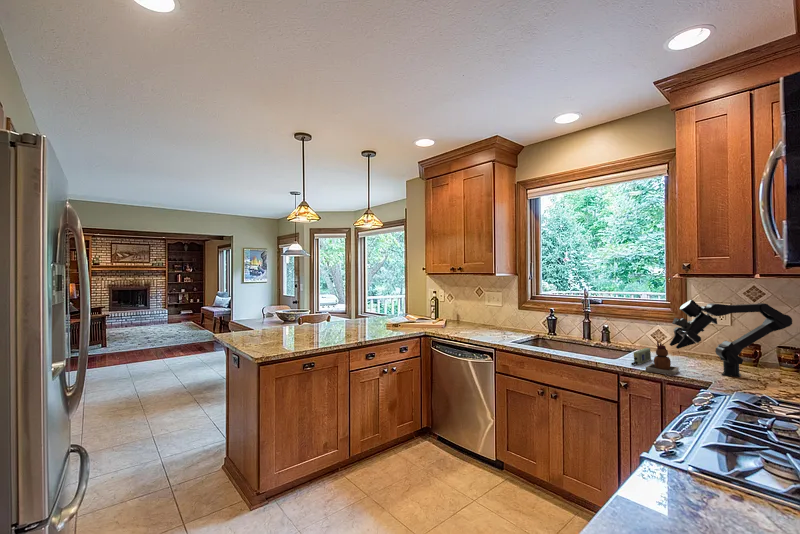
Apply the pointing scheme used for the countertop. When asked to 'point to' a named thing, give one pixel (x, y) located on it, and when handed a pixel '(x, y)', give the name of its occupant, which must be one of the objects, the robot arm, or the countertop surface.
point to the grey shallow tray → (662, 370)
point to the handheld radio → (641, 356)
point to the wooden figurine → (662, 358)
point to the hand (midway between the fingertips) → (673, 346)
